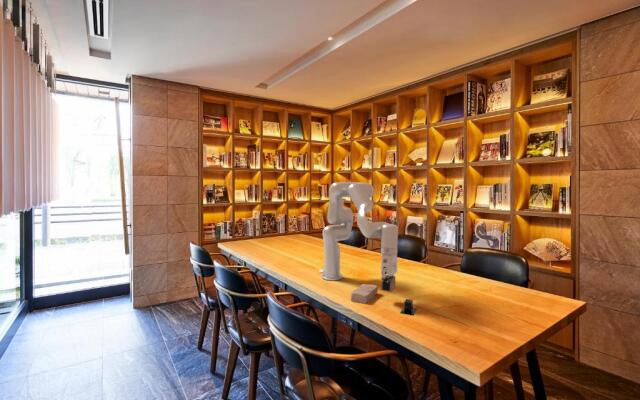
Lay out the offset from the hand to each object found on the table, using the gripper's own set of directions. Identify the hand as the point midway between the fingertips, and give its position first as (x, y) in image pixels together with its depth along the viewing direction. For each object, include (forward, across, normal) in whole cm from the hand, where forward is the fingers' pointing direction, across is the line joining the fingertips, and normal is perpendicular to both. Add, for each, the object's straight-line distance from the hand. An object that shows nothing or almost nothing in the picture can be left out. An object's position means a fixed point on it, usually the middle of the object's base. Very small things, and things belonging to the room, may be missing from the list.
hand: (388, 287), depth 156 cm
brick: (+8, 0, +12) cm, 14 cm away
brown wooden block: (+1, 0, 0) cm, 1 cm away
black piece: (+7, -6, -12) cm, 15 cm away
